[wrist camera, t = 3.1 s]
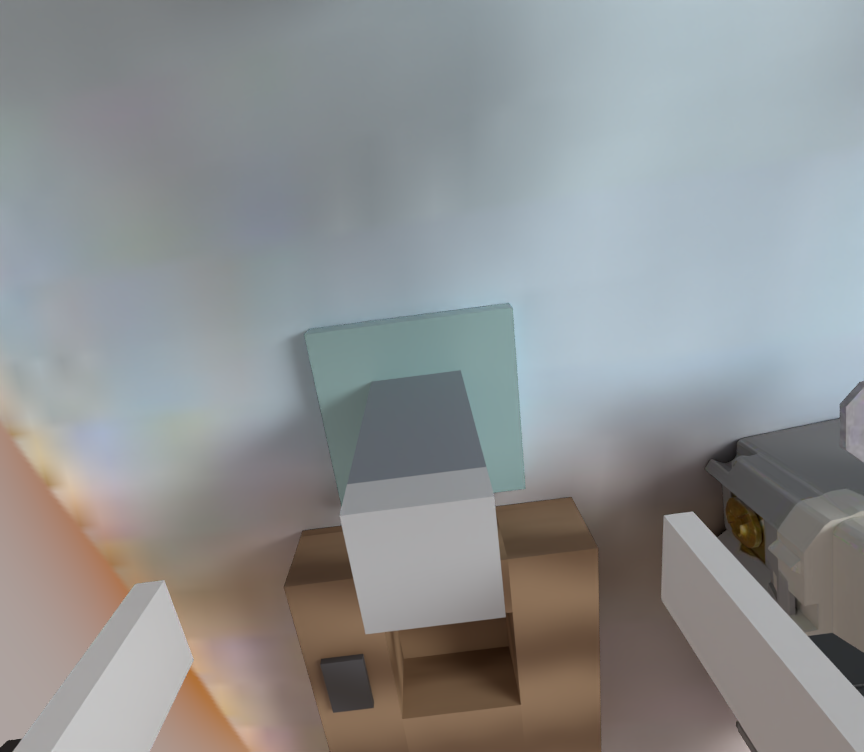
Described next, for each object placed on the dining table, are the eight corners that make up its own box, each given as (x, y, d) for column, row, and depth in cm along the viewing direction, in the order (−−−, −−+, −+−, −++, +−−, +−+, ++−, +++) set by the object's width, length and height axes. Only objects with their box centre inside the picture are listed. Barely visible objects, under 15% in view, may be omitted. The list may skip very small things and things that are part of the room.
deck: (308, 329, 22) (304, 334, 21) (508, 303, 22) (512, 307, 21) (345, 500, 25) (342, 511, 24) (521, 477, 25) (525, 488, 24)
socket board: (302, 530, 26) (281, 592, 22) (571, 497, 26) (600, 552, 22) (377, 823, 34) (371, 908, 30) (582, 799, 34) (604, 881, 30)
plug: (371, 381, 22) (339, 515, 13) (460, 370, 22) (494, 496, 13) (385, 460, 24) (365, 634, 14) (469, 449, 24) (505, 616, 14)
